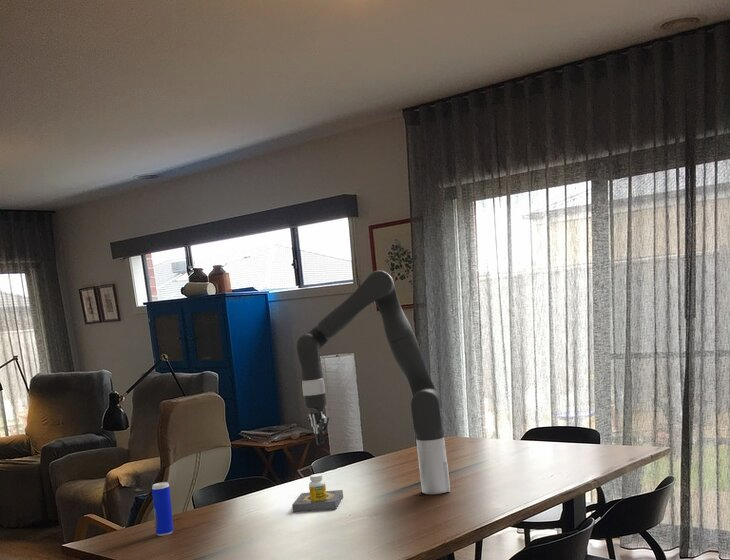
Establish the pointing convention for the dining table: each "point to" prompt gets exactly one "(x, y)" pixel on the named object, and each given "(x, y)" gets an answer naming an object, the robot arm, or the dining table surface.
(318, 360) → the robot arm
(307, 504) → the mount plate
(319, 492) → the supplement bottle
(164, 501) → the beverage can
